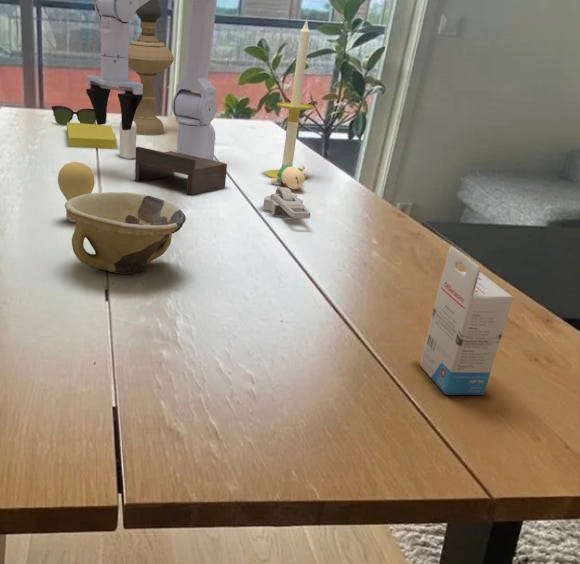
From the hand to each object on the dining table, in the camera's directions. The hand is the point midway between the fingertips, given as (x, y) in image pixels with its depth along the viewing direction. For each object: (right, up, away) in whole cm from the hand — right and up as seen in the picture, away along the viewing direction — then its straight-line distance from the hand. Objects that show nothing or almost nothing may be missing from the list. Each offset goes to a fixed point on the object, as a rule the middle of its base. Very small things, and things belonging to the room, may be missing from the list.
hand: (113, 127), depth 167 cm
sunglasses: (-15, +30, +63) cm, 71 cm away
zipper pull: (+36, -26, -16) cm, 47 cm away
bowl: (+6, -44, -49) cm, 66 cm away
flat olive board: (-10, +15, +41) cm, 45 cm away
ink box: (+46, -65, -76) cm, 110 cm away
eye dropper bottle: (+1, +3, +24) cm, 24 cm away
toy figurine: (+39, -11, +7) cm, 41 cm away
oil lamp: (+4, +25, +57) cm, 62 cm away
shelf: (+14, -12, +2) cm, 19 cm away
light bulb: (-5, -30, -28) cm, 41 cm away
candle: (+40, -4, +17) cm, 43 cm away
